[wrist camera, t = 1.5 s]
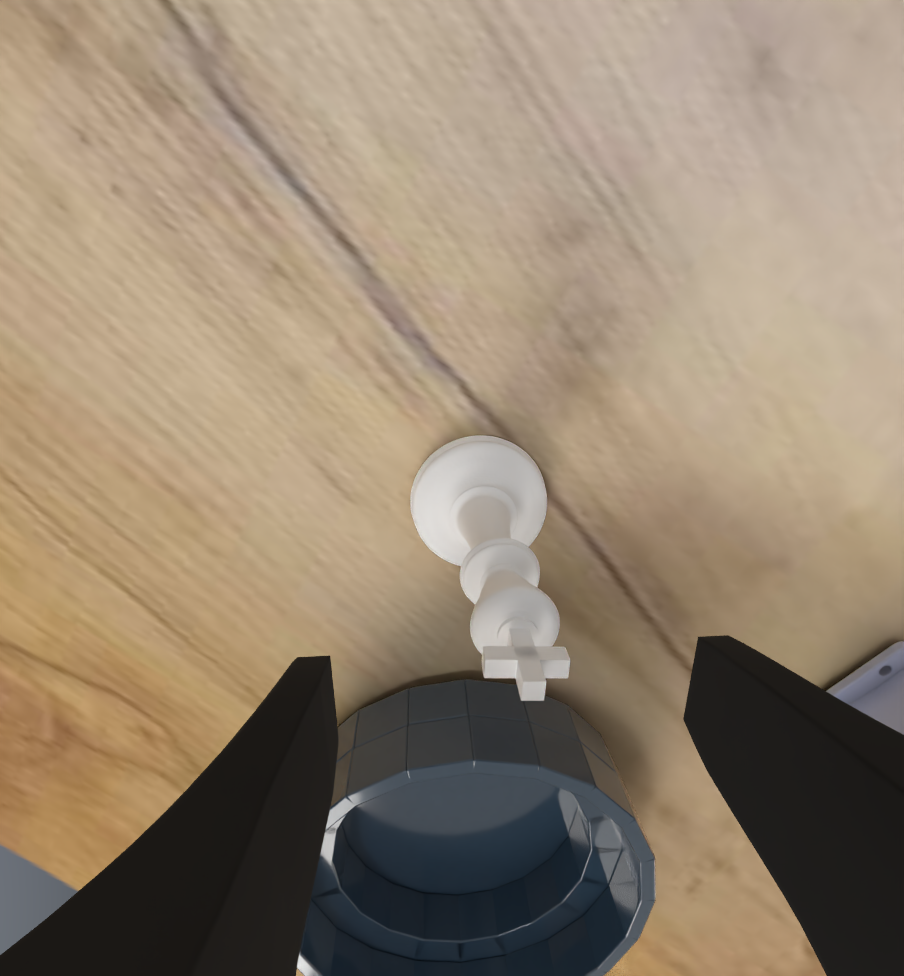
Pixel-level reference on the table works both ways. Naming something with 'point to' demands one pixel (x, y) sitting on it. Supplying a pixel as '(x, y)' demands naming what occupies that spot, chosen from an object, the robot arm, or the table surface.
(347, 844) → the bowl
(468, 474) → the chess piece
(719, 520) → the table surface
